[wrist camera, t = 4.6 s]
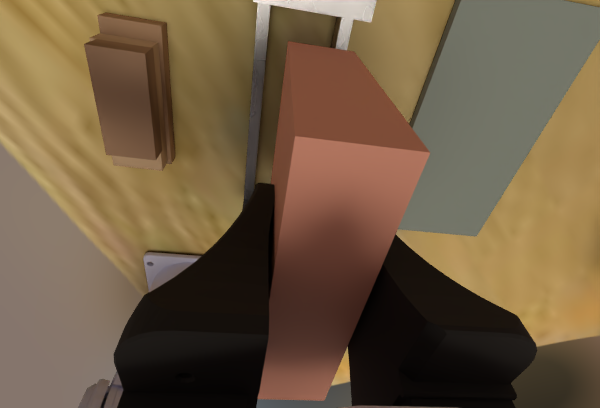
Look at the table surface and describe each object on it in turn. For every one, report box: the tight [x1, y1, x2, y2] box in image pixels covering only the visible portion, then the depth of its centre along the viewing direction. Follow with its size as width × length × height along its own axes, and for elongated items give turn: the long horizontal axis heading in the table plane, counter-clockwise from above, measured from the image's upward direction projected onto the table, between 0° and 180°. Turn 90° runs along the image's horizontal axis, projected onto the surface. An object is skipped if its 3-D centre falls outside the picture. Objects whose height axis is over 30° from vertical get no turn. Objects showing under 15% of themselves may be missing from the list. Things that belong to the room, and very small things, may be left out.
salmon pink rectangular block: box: [258, 41, 430, 400], centre depth 12 cm, size 10×2×8 cm, turn 171°
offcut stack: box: [84, 13, 175, 171], centre depth 18 cm, size 8×3×4 cm, turn 171°
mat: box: [398, 0, 600, 236], centre depth 22 cm, size 16×8×1 cm, turn 171°
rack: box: [242, 0, 377, 211], centre depth 19 cm, size 14×5×5 cm, turn 171°
